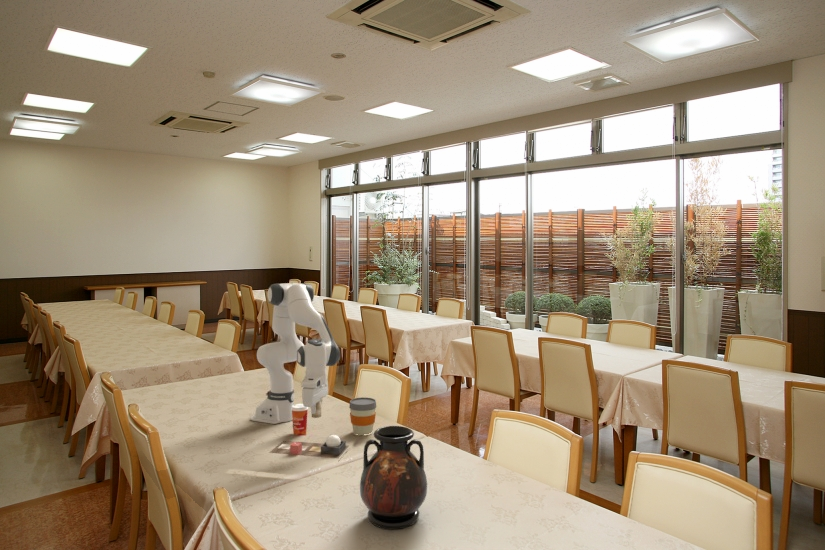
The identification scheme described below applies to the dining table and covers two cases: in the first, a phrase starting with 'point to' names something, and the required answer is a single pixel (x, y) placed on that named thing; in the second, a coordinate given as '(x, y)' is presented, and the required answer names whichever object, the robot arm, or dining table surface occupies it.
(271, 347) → the robot arm
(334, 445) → the dome button
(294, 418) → the paper cup
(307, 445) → the game board
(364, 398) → the reusable coffee cup
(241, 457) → the dining table surface
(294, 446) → the die
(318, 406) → the pawn
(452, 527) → the dining table surface
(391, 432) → the amphora vase
